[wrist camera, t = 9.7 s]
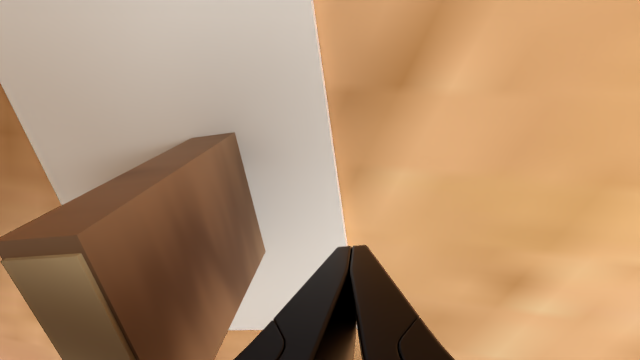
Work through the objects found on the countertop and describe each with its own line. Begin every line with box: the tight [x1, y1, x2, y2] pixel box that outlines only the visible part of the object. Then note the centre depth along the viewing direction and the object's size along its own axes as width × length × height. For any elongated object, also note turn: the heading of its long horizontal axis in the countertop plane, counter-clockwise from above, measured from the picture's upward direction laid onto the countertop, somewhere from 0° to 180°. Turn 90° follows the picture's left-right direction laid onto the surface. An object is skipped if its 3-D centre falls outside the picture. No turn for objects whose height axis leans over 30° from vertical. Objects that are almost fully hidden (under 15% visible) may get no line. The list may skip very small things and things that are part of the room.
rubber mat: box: [0, 0, 348, 330], centre depth 15 cm, size 18×14×1 cm
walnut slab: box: [0, 132, 266, 360], centre depth 11 cm, size 6×2×8 cm, turn 9°
